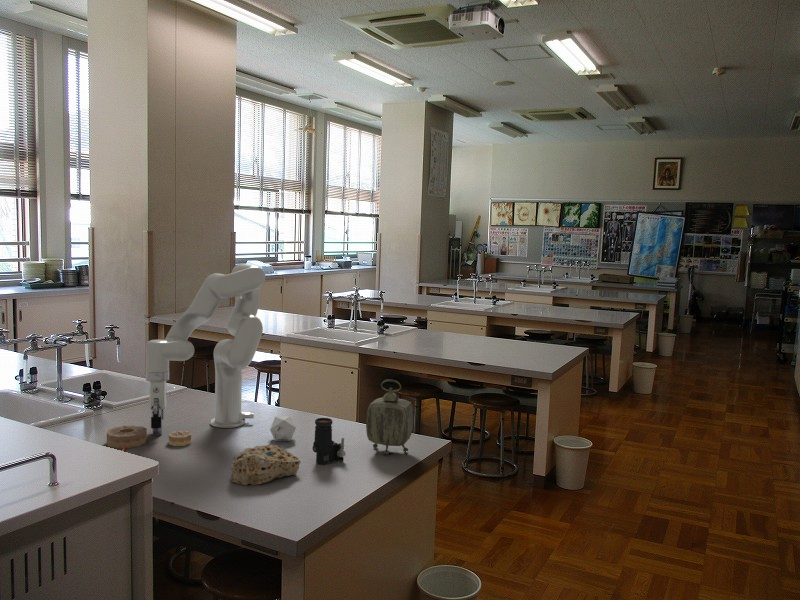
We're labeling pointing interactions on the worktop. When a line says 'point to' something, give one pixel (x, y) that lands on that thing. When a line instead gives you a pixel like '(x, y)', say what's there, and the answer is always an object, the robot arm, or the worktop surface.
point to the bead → (126, 436)
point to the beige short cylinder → (179, 438)
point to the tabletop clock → (389, 420)
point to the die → (282, 428)
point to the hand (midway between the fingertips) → (157, 424)
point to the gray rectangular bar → (158, 430)
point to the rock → (263, 465)
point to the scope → (326, 443)
